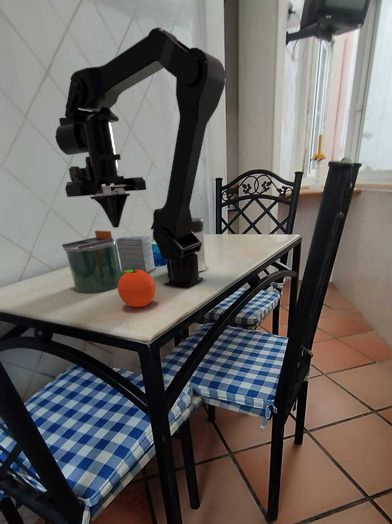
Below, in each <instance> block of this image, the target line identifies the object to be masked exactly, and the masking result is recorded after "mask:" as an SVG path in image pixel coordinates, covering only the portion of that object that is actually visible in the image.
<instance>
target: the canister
mask: <svg viewBox="0 0 392 524" xmlns="http://www.w3.org/2000/svg"><path fill="white" fill-rule="evenodd" d="M95 238H96V236H95V237H94V236H93V237H89V238H85V239H80V240H75V241H71V242H66V243H62V244H61V247H62V249H63V251H64V252H65V254H66V259H67V262H68V265H69V270H70V273H71V277H72V281H73V285H74V289H75V290H76V291H77V292H79V293H84V294H85V293H87V294H92V293H100V292H102V293H103V292H107V291H110V290H114V289H117V288H118V283H119V280H120V278H121V276H122V275H123V274H122V273H121V272H122V268H121V263H120V258H119V252H118V247H117V241H116V239H114V238H113V237H112V238H109V239H105V240H101V241H96V242H92V243H87V244H83V243H81V242H82V241H86V240H91V239H95ZM118 274H119V275H118ZM117 275H118V276H117ZM116 276H117V277H116ZM115 278H116V280H115ZM114 282H115V283H114Z"/></svg>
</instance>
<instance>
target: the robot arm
mask: <svg viewBox="0 0 392 524" xmlns="http://www.w3.org/2000/svg"><path fill="white" fill-rule="evenodd" d="M163 69H165V71H167V72H168V73H169V74H171V75H172V76H173V77H175V81H176V82H175V98H176V103H177V108H178V113H179V121H178V127H177V134H176V139H175V145H174V150H173V151H174V152H173V157H172V163H171V169H170V176H169V181H168V182H169V183H168V188H167V195H166V199H165V200H166V201H165V203H164V205H163V206H162V207H161V208H155V209H154V210H153V214H152V224H151V227H150V230H151V231H152V238H153V239H152V240H153V241H154V242H155V244H156V245H157V248H158V251H159V253H160V255H161V258H162V259H163V260H166V269H167V278H168V280H166V281H165V282H164V284H165V285H168V286H174V287H179V288H189V287H191V286H194V285H196V284H198V283H201V282H202V281H204V277H201V276H200V271H199V270H198V255H197V254H195V253H196V252H199V251H200V250H201V246H202V242H201V240H200V239H199V238H198V237H197V236H196V235H195V234H194V233H193V232H192V218H193V217H192V213H191V209H190V207H191V200H192V197H193V196H192V195H193V191H194V187H195V181H196V177H197V171H198V167H199V162H200V157H201V153H202V148H203V143H204V140H205V139H204V138H205V133H206V129H207V125H208V123H209V121H210V119H212V116H213V115H214V113H215V112H216V111H217V108H218V106H219V103H220V100H221V98H222V95H223V92H224V89H225V85H226V82H227V81H226V80H227V72H226V70H225V68H224V65H223V63H222V62H221V60H220V59H219V58H216V57H215V56H213V55H211V54H209V53H208V52H206V51H204V50H202V49H201V48H199V47H189V46H187V45H185V44H184V43H183V42H182V41H180V40H179V39H178V38H177V36H176V35H174V34H173V33H171V32H169V31H167V30H166V29H164V28H162V27H155V28H154V27H153V28H152V29H151V30H150V31H149V33H148V35H146V36H145V37H143V38H141V39H140V40H139V41H137V42H136V43H134V44H133V45H132V46H130V47H128V48H127V49H125V50H124V51H123V52H121V53H120V54H118V55H117V56H115V57H113V58H112V59H111V60H109V61H108V62H106V63H105V64H103V65H100V66H90V67H84V68H82V69H79V70H76V71H74V72H73V73H72V75H70V83H69V88H68V93H67V100H66V103H65V106H64V107H65V111H64V112H65V113H64V117H59V118H58V121H59V125H58V126H57V128H56V129H55V130H56V131H55V142H56V144H57V146H58V148H59V149H60V151H61V152H62V153H63V154H65V155H68V156H73V155H81V154H86V153H87V154H88V156H85V167H80V166H77V165H76V166H75V165H73V166H70V167H69V168H68V173H69V178H70V181H66V184H65V187H64V188H65V189H64V190H65V193H66V197H67V198H76V197H87V196H88V197H90V199H91V200H94V201H95V202H97V203H98V204H99V206H100V207H101V208H102V210H103V212H104V213H105V215H106V217H107V218H108V221H109V222H110V224H111V226H112V228H114V229H118V228H119V227H120V223H121V219H122V215H123V211H124V208H125V205H126V203H127V199H128V197H130V196H131V193H129V192H135V191H137V192H138V191H139V192H140V191H147V183H146V180H145V179H144V178H143V176H138V177H137V176H136V177H124V175H121V174H120V169H119V164H118V161H121V160H122V157H121V153H117V151H116V146H115V145H116V144H115V140H114V133H113V127H112V123H117V122H119V121H120V119H119V116H117V115H116V114H115V113H114V112H113V111H112V110H111V108H112V107H113V106H114V105H116V104H117V102H118V99H119V97H120V95H121V94H122V93H123V92H125V91H126V90H129V89H130V88H132V87H134V86H135V85H137V84H139V83H141V82H142V81H144V80H146V79H147V78H150V77H151V76H153V75H154V74H156V73H158V72H159V71H161V70H163ZM126 192H128V193H126Z"/></svg>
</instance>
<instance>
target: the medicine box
mask: <svg viewBox="0 0 392 524" xmlns="http://www.w3.org/2000/svg"><path fill="white" fill-rule="evenodd" d="M115 240H116V241H117V244H116V248H117V253H118V258H119V264H120V269H121V272H123V271H126V270H133V269H135V270H142V271H144V272H146V273H150V272H152V271H154V269H155V268H156V267H155V261H154V254H153V248H152V240H151V236H150V235H124V236H120V237H118V238H116V239H115ZM123 273H124V272H123Z"/></svg>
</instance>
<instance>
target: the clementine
mask: <svg viewBox="0 0 392 524" xmlns="http://www.w3.org/2000/svg"><path fill="white" fill-rule="evenodd" d="M118 275H119V274H118ZM118 275H117V276H118ZM121 275H122V276H121V278H120V280H119V283H118V287H117V293H118V296H119V298H120V299H121V300H122V302H123V303H125V304H126V305H127V306H129V307H132V308H141V307H146V306H147V305H149V304H150V303H151V302H152V300H153V299H154V297H155V296H156V283H155V281H154V279H153V277H152V276H151V275H150V274H149V272H147V273H146V272H144V271H142V270H135V269H133V270H126V271H123V272H122V271H121ZM117 276H116V277H117ZM115 280H116V278H115ZM114 283H115V282H114Z"/></svg>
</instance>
